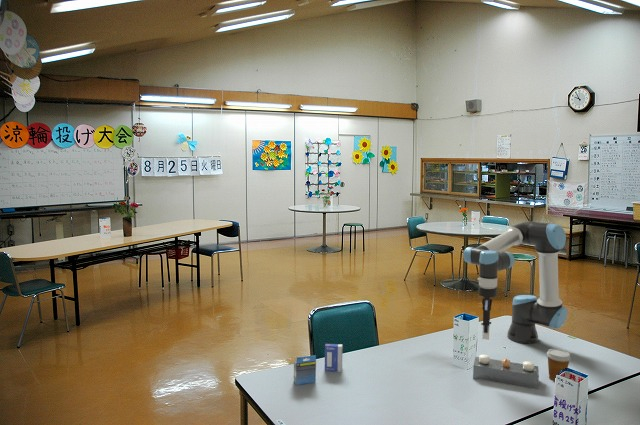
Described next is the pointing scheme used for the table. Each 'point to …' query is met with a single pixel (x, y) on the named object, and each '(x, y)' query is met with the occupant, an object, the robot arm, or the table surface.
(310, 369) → the label tape box
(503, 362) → the dial
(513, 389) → the table surface
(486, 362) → the knob
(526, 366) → the knob
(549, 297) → the robot arm
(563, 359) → the disposable coffee cup
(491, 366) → the console
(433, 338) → the table surface
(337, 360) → the walkman
